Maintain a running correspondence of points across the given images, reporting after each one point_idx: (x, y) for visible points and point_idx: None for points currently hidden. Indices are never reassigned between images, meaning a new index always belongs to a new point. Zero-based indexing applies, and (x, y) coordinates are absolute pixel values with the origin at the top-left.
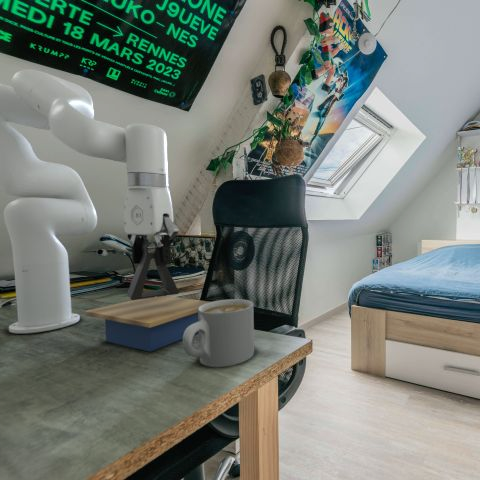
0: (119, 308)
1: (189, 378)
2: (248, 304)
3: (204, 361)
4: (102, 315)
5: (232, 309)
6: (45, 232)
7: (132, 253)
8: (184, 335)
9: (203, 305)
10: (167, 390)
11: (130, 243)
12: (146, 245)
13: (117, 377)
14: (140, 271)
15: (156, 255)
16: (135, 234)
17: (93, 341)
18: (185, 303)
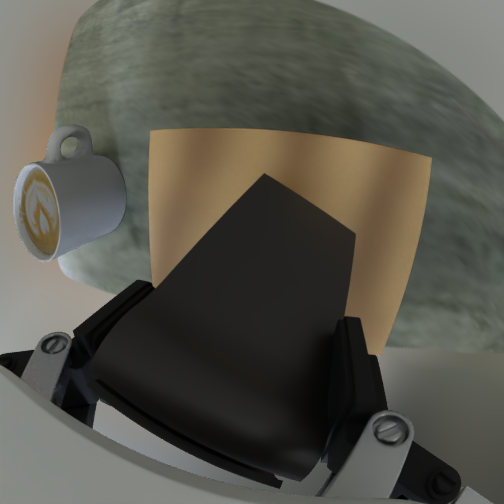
0: (362, 204)
1: (94, 120)
2: (35, 250)
3: (96, 155)
4: (351, 139)
5: (40, 223)
6: None
7: (365, 358)
8: (64, 126)
9: (56, 200)
10: (97, 89)
11: (406, 427)
12: (123, 348)
13: (179, 70)
14: (224, 235)
15: (113, 306)
16: (214, 482)
17: None
18: None
